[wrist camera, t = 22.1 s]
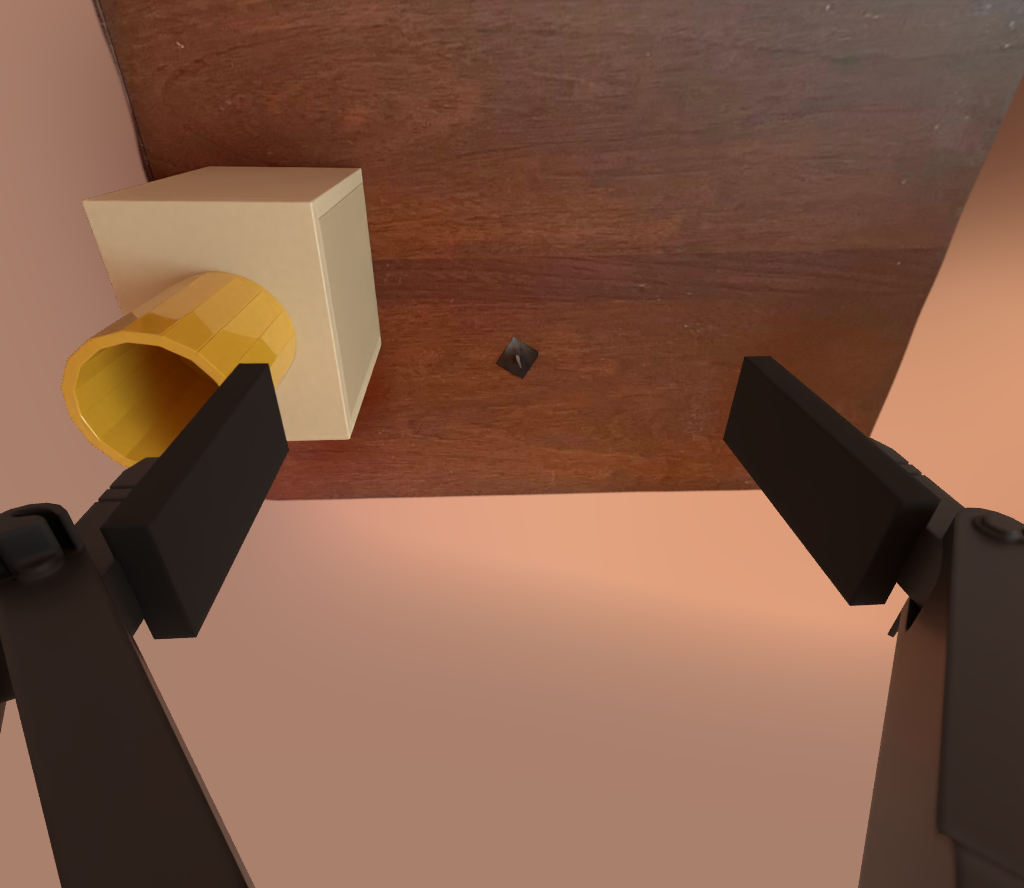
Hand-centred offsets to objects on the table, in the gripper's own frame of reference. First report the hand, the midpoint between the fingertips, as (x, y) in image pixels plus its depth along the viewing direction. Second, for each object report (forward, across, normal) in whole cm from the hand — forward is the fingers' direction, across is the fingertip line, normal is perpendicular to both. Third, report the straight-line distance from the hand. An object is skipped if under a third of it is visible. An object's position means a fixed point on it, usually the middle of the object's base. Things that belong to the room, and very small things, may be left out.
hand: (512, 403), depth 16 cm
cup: (+17, -14, -4) cm, 22 cm away
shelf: (+33, -14, -4) cm, 36 cm away
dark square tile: (+33, +3, -13) cm, 35 cm away
